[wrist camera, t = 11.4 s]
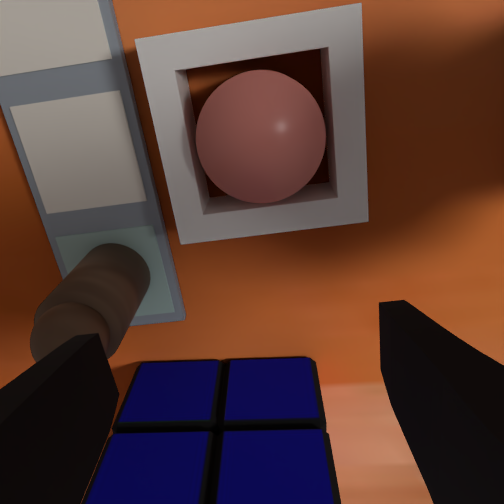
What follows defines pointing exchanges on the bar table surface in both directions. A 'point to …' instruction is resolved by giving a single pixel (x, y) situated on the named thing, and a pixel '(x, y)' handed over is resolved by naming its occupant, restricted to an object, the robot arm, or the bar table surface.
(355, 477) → the bar table surface
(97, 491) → the puzzle cube
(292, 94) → the button
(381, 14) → the bar table surface
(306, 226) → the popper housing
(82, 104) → the board
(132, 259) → the pawn
